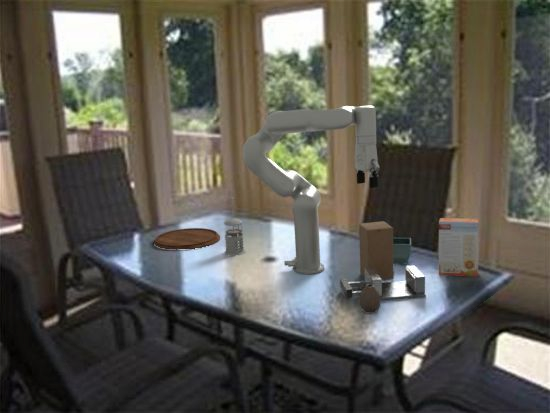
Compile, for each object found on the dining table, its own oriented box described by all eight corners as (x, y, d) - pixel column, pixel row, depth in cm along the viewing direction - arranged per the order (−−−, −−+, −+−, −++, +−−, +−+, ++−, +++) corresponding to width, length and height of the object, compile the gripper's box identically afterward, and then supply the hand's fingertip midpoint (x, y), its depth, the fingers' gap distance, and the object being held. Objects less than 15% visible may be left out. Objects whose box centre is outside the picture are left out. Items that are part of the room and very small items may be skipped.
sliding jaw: (346, 298, 206) (346, 281, 205) (340, 286, 218) (339, 270, 216) (381, 295, 207) (381, 279, 205) (373, 283, 218) (373, 267, 217)
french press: (220, 255, 266) (215, 199, 261) (231, 247, 277) (227, 193, 271) (240, 256, 263) (236, 200, 257) (251, 248, 273) (248, 194, 267)
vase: (357, 307, 202) (356, 282, 200) (377, 305, 203) (377, 280, 201) (362, 315, 195) (361, 290, 193) (383, 314, 196) (382, 288, 194)
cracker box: (478, 272, 228) (479, 218, 224) (477, 277, 223) (479, 222, 218) (439, 269, 233) (439, 217, 228) (438, 275, 228) (438, 221, 223)
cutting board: (185, 229, 313) (185, 224, 313) (234, 237, 295) (233, 231, 294) (138, 246, 288) (138, 240, 288) (188, 255, 270) (187, 249, 269)
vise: (368, 302, 206) (367, 282, 204) (359, 287, 219) (358, 268, 218) (425, 297, 207) (426, 277, 206) (413, 283, 221) (413, 264, 219)
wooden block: (394, 279, 226) (393, 227, 221) (368, 282, 224) (367, 230, 220) (384, 270, 235) (384, 220, 231) (359, 273, 234) (358, 223, 229)
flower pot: (411, 266, 239) (411, 244, 237) (388, 265, 241) (388, 243, 239) (411, 258, 248) (410, 237, 246) (388, 258, 249) (388, 237, 247)
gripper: (346, 138, 232) (347, 182, 235) (368, 143, 216) (369, 190, 220) (363, 136, 234) (365, 180, 238) (386, 141, 218) (387, 187, 222)
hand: (367, 185), depth 229 cm, fingers open, 9 cm apart
